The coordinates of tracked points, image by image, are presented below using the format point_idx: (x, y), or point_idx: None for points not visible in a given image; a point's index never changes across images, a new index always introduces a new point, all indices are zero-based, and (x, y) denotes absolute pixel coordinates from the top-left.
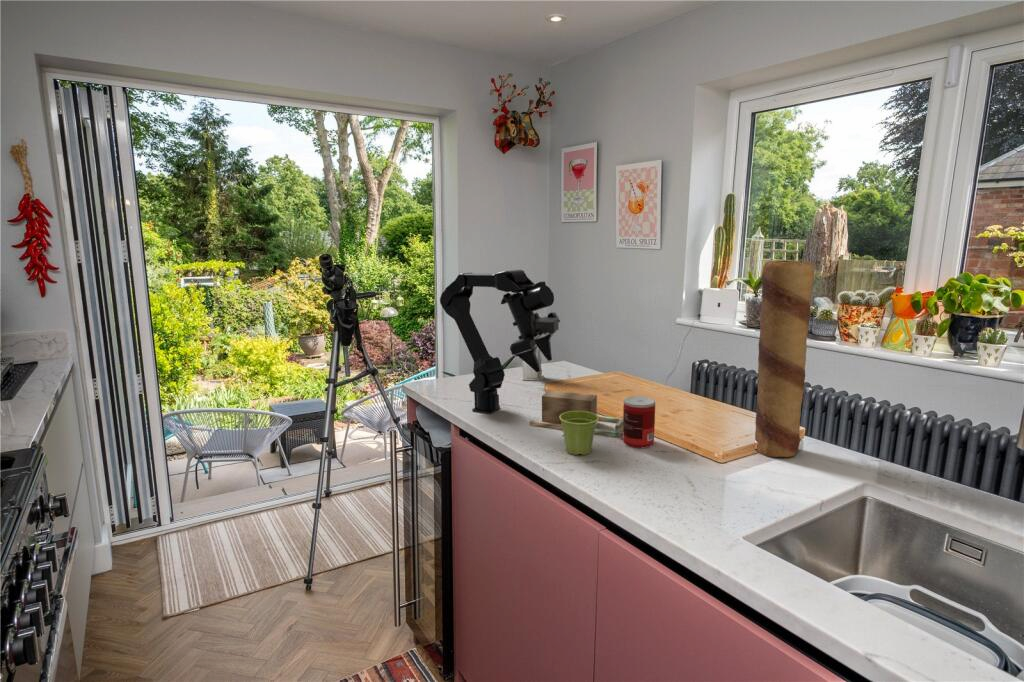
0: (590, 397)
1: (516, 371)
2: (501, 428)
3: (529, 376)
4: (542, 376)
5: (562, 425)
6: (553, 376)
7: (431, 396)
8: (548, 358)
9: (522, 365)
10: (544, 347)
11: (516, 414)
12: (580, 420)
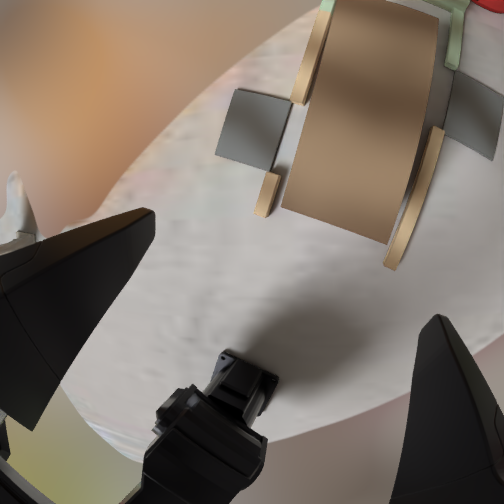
0: (386, 13)
1: None
2: (414, 348)
3: None
4: (20, 234)
5: (436, 152)
6: (15, 211)
7: None
8: (144, 242)
9: None
10: (60, 317)
11: (282, 308)
12: None
